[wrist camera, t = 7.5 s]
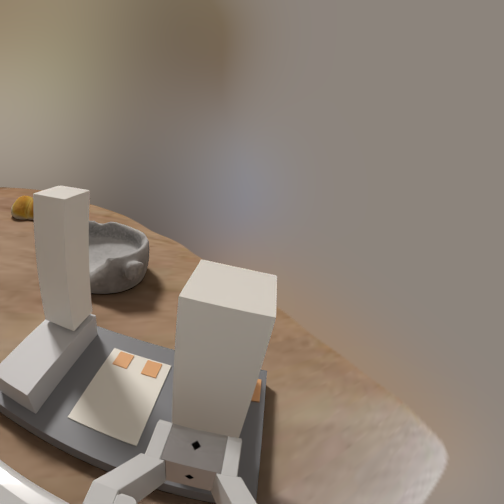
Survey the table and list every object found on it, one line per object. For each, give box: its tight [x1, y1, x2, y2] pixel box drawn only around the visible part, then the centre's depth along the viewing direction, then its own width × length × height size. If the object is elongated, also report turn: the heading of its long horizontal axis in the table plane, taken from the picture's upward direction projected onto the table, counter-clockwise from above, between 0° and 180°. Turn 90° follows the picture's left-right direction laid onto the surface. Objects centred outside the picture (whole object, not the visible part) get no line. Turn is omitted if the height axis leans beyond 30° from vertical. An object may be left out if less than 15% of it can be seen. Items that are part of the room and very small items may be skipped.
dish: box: [89, 221, 149, 294], centre depth 35 cm, size 14×14×5 cm
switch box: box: [0, 314, 267, 503], centre depth 18 cm, size 12×20×4 cm, turn 85°
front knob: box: [172, 259, 277, 438], centre depth 12 cm, size 3×3×10 cm
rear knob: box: [33, 186, 92, 331], centre depth 19 cm, size 3×3×10 cm
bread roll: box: [11, 196, 34, 220], centre depth 47 cm, size 8×9×4 cm
